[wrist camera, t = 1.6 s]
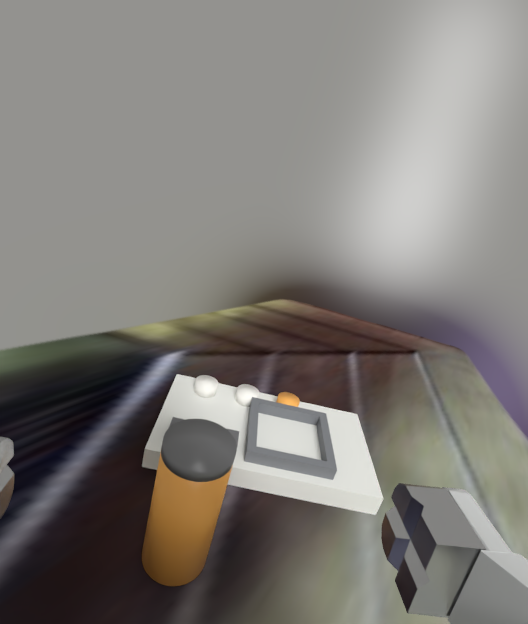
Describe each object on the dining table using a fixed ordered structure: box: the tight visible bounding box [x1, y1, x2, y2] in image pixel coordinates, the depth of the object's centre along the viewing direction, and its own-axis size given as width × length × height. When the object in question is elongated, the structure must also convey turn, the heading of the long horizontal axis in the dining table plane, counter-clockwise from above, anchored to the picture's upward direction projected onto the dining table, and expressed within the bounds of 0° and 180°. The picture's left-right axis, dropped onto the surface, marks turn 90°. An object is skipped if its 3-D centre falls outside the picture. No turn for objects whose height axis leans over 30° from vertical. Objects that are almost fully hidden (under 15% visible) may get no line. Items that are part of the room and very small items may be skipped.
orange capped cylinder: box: [142, 419, 237, 586], centre depth 26 cm, size 4×4×10 cm
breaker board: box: [142, 374, 383, 515], centre depth 40 cm, size 21×12×3 cm, turn 89°
